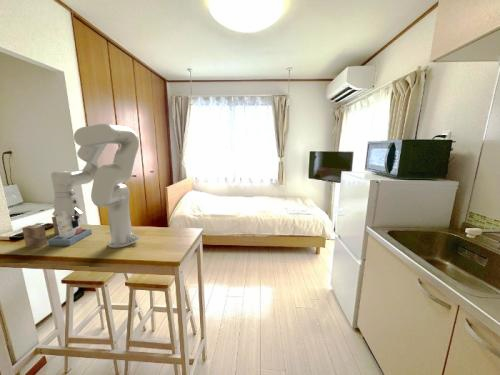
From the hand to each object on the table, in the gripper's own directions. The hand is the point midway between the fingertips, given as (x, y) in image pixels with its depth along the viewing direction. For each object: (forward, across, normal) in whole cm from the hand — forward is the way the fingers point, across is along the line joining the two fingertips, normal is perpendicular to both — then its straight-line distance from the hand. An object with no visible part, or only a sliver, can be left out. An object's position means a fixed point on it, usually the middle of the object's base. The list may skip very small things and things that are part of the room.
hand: (69, 226), depth 113 cm
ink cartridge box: (+5, 0, 0) cm, 5 cm away
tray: (+7, 0, 0) cm, 7 cm away
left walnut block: (+7, +12, +7) cm, 16 cm away
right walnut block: (+7, +12, -9) cm, 17 cm away
